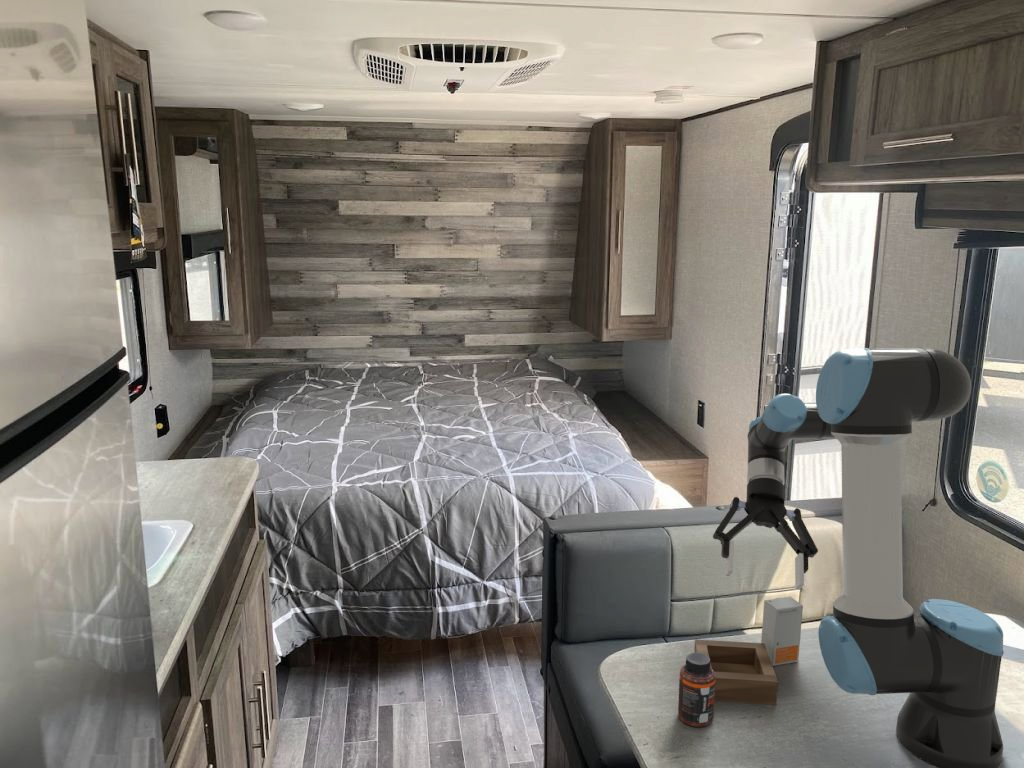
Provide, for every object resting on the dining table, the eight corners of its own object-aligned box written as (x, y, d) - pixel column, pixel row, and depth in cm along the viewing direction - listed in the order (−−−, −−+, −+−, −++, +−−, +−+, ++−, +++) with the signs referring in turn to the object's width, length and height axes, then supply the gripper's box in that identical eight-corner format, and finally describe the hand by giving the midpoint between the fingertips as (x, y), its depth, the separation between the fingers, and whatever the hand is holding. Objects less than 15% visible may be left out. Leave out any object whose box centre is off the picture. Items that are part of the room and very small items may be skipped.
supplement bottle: (714, 731, 131) (717, 669, 129) (677, 726, 133) (680, 665, 130) (712, 709, 137) (715, 650, 135) (677, 705, 138) (680, 647, 136)
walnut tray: (776, 704, 138) (777, 681, 138) (701, 699, 140) (702, 676, 139) (762, 664, 151) (764, 643, 150) (694, 660, 153) (694, 639, 152)
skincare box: (772, 667, 150) (776, 609, 148) (759, 656, 154) (763, 599, 152) (799, 662, 152) (803, 605, 149) (786, 651, 156) (790, 595, 153)
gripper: (819, 503, 167) (822, 599, 155) (702, 482, 169) (696, 574, 157) (832, 487, 161) (836, 585, 149) (710, 465, 163) (704, 560, 151)
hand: (764, 580), depth 153 cm, fingers open, 13 cm apart
